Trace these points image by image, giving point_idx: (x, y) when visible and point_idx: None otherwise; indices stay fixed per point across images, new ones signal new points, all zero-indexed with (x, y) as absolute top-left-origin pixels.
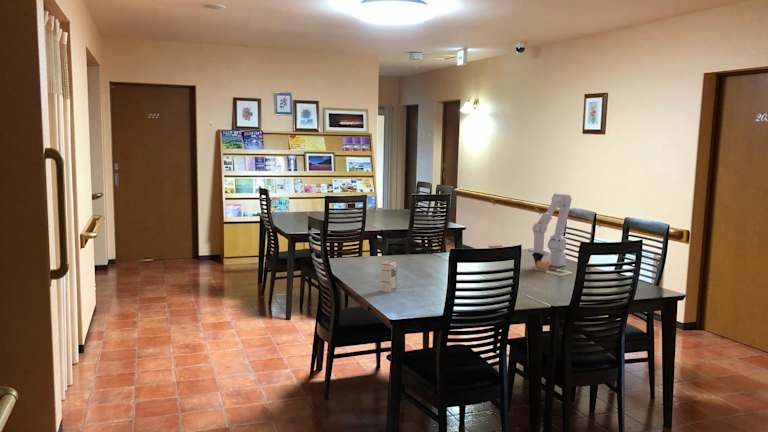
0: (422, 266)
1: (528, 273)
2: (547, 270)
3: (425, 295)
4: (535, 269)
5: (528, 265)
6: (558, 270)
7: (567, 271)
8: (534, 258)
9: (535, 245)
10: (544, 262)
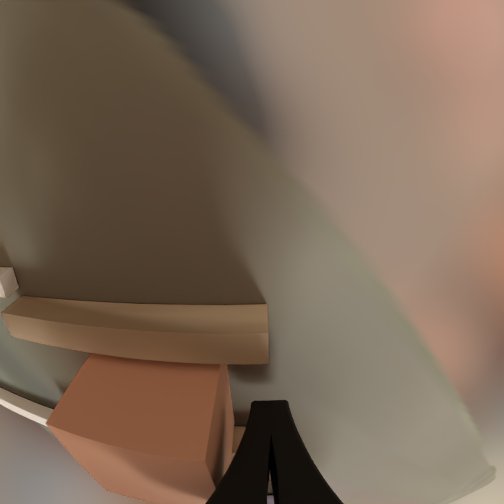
0: None
1: (53, 6)
2: (9, 309)
3: None
4: (201, 305)
5: (430, 386)
6: None
7: (8, 404)
8: (313, 500)
9: None
10: (58, 435)
